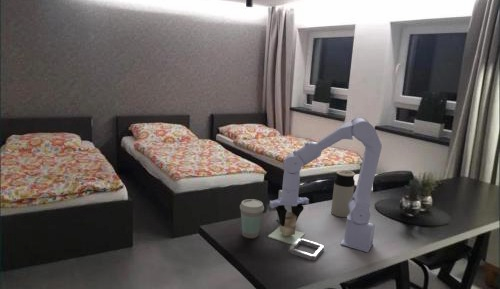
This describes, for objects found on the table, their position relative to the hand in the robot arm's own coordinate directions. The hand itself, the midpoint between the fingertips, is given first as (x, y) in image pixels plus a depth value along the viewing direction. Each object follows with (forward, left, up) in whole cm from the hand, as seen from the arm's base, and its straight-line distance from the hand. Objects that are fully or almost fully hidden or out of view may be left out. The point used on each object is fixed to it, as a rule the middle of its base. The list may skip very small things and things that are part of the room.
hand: (287, 224), depth 134 cm
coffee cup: (+11, +7, -5) cm, 14 cm away
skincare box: (+6, -12, -5) cm, 14 cm away
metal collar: (-10, +6, -4) cm, 12 cm away
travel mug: (-10, -32, -5) cm, 34 cm away
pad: (0, 0, -4) cm, 4 cm away
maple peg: (0, 0, -3) cm, 3 cm away
